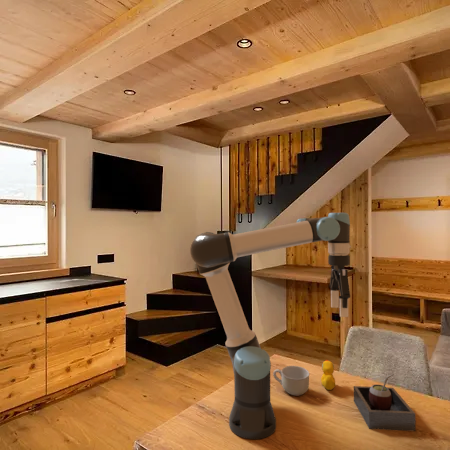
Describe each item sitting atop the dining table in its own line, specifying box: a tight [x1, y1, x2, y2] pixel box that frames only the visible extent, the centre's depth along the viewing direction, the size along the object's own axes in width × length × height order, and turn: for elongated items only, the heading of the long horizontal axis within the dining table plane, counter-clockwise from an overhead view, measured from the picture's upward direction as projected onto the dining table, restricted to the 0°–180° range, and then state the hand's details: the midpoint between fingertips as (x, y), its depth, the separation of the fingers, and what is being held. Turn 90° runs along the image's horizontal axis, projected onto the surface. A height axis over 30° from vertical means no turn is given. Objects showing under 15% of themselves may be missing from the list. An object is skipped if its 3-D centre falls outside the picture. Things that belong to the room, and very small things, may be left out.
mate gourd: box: [369, 373, 395, 411], centre depth 115 cm, size 8×8×15 cm
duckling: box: [320, 359, 336, 391], centre depth 134 cm, size 11×5×10 cm, turn 167°
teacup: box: [272, 365, 310, 397], centre depth 132 cm, size 14×11×8 cm
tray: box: [353, 385, 416, 432], centre depth 115 cm, size 14×17×6 cm
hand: (339, 311), depth 124 cm, fingers open, 13 cm apart
